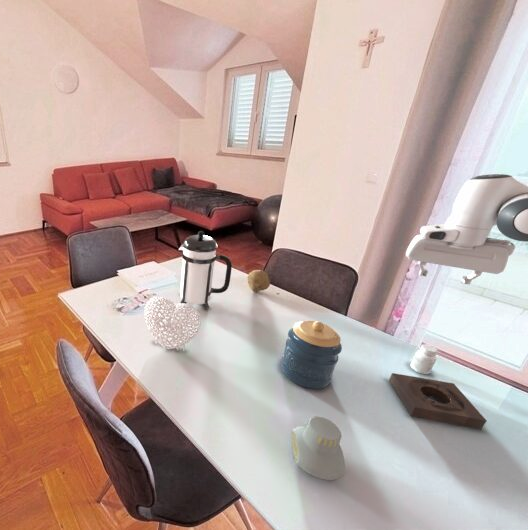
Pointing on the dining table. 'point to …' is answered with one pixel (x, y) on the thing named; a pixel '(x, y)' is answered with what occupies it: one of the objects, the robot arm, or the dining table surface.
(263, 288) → the natural sponge
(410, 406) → the socket pad
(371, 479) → the dining table surface
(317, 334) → the canister
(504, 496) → the dining table surface
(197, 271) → the coffee press
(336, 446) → the air freshener
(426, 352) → the pill bottle
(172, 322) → the decorative heart
